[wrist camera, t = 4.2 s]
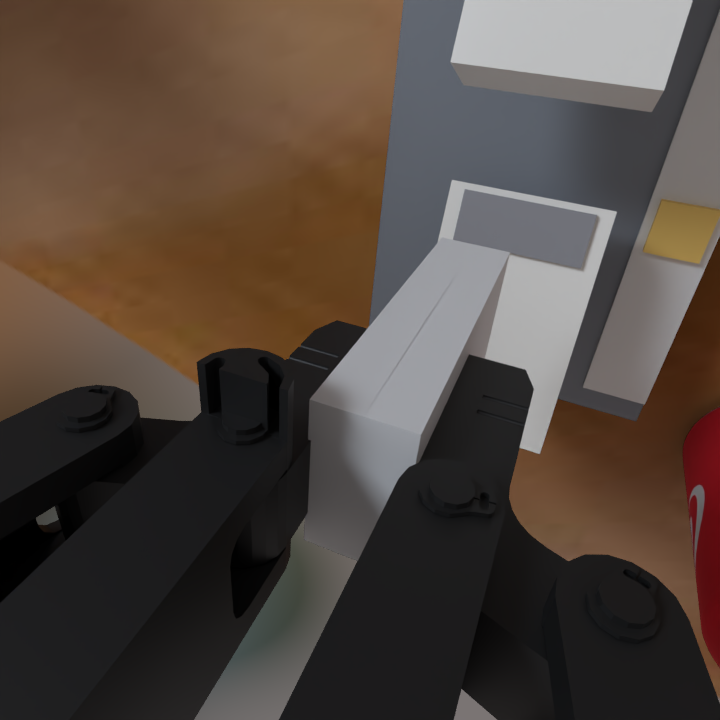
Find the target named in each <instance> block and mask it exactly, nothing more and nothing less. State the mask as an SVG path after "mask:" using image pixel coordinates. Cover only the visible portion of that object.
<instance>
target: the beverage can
mask: <svg viewBox="0 0 720 720" xmlns="http://www.w3.org/2000/svg"><path fill="white" fill-rule="evenodd" d="M683 464H684V473H685V482H686V491H687V501H688V510H689V519H690V528H691V537H692V546H693V555H694V565H695V574H696V583H697V592H698V601H699V610H700V620H701V629H702V634H703V637H704V640H705V643H706V645H707V647H708V650H709V652H710V654H711V655H712V657H713V659H714V660H715V662H716V663H717V665H718V666H719V668H720V407H718V408H716V409H714V410H712V411H711V412H709V413H708V414H706V415H705V416H703V417H702V418H701V419H700V420H699V421H698V422H697V423H696V424H695V425H694V426H693V427H692V429H691V430H690V432H689V433H688V435H687V437H686V439H685V442H684V446H683Z"/></svg>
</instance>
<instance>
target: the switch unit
mask: <svg viewBox="0 0 720 720" xmlns="http://www.w3.org/2000/svg"><path fill="white" fill-rule="evenodd" d="M464 1H465V0H404V3H403V12H402V22H401V31H400V40H399V50H398V59H397V69H396V78H395V87H394V97H393V106H392V115H391V125H390V134H389V144H388V153H387V162H386V172H385V181H384V190H383V200H382V209H381V218H380V228H379V237H378V247H377V256H376V265H375V275H374V284H373V293H372V303H371V312H370V322H369V326H370V325H371V324H372V322H373V321H374V320H375V319H376V318H377V316H378V315H379V314H380V313H381V311H382V310H383V309H384V308H385V307H386V305H387V304H388V303H389V302H390V300H391V299H392V298H393V297H394V296H395V294H396V293H397V292H398V291H399V289H400V288H401V287H402V286H403V285H404V283H405V282H406V281H407V280H408V278H409V277H410V276H411V275H412V274H413V272H414V271H415V270H416V269H417V267H418V266H419V265H420V264H421V263H422V261H423V260H424V259H425V258H426V256H427V255H428V254H429V253H430V252H431V250H432V249H433V248H434V247H435V245H436V244H437V243H438V238H439V234H440V230H441V225H442V221H443V217H444V212H445V208H446V203H447V199H448V195H449V190H450V186H451V182H452V180H456V181H461V182H466V183H471V184H477V185H482V186H487V187H492V188H497V189H502V190H508V191H513V192H518V193H523V194H528V195H534V196H539V197H544V198H549V199H554V200H559V201H565V202H570V203H575V204H580V205H585V206H590V207H596V208H601V209H606V210H611V211H616V212H617V213H616V217H615V220H614V223H613V226H612V229H611V232H610V235H609V238H608V242H607V245H606V248H605V251H604V254H603V257H602V260H601V264H600V267H599V270H598V273H597V276H596V279H595V282H594V286H593V289H592V292H591V295H590V298H589V301H588V304H587V308H586V311H585V314H584V317H583V320H582V323H581V326H580V330H579V333H578V336H577V339H576V342H575V345H574V348H573V351H572V355H571V358H570V361H569V364H568V367H567V370H566V373H565V377H564V380H563V383H562V386H561V389H560V392H559V395H558V399H560V400H564V401H567V402H571V403H574V404H578V405H581V406H584V407H588V408H591V409H595V410H598V411H602V412H605V413H609V414H612V415H616V416H619V417H622V418H626V419H629V420H633V421H637V418H638V416H639V414H640V412H641V409H642V407H643V405H645V403H646V401H647V399H648V396H649V394H650V392H651V390H652V387H653V385H654V383H655V381H656V378H657V376H658V374H659V372H660V369H661V367H662V365H663V363H664V360H665V358H666V356H667V354H668V351H669V349H670V347H671V345H672V342H673V340H674V338H675V336H676V333H677V331H678V329H679V327H680V324H681V322H682V320H683V318H684V315H685V313H686V311H687V309H688V306H689V304H690V302H691V300H692V297H693V295H694V293H695V291H696V288H697V286H698V284H699V282H700V279H701V277H702V275H703V273H704V270H705V268H706V266H707V264H708V261H709V259H710V257H711V255H712V252H713V250H714V248H715V246H716V243H717V241H718V239H719V237H720V0H693V1H692V4H691V8H690V11H689V14H688V17H687V20H686V23H685V26H684V30H683V33H682V36H681V39H680V42H679V45H678V48H677V52H676V55H675V58H674V61H673V64H672V67H671V71H670V74H669V77H668V80H667V83H666V86H665V89H664V92H663V93H662V95H661V97H660V99H659V100H658V102H657V104H656V106H655V107H654V109H653V111H652V112H646V111H639V110H632V109H626V108H619V107H612V106H605V105H598V104H591V103H584V102H577V101H570V100H563V99H556V98H549V97H542V96H535V95H528V94H521V93H514V92H507V91H500V90H493V89H487V88H480V87H473V86H466V85H463V83H462V82H461V80H460V78H459V76H458V75H457V73H456V71H455V69H454V68H453V66H452V64H451V63H450V62H451V57H452V53H453V49H454V44H455V40H456V36H457V31H458V27H459V23H460V18H461V14H462V10H463V5H464Z"/></svg>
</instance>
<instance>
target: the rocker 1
mask: <svg viewBox="0 0 720 720" xmlns="http://www.w3.org/2000/svg"><path fill="white" fill-rule="evenodd" d="M692 1H693V0H465V1H464V5H463V10H462V14H461V18H460V23H459V27H458V31H457V36H456V40H455V44H454V49H453V53H452V57H451V62H450V63H451V64H452V66H453V68H454V69H455V71H456V73H457V75H458V76H459V78H460V80H461V82H462V83H463V85H466V86H473V87H480V88H487V89H493V90H500V91H507V92H514V93H521V94H528V95H535V96H542V97H549V98H556V99H563V100H570V101H577V102H584V103H591V104H598V105H605V106H612V107H619V108H626V109H632V110H639V111H646V112H652V111H653V109H654V107H655V106H656V104H657V102H658V100H659V99H660V97H661V95H662V93H663V92H664V89H665V86H666V83H667V80H668V77H669V74H670V71H671V67H672V64H673V61H674V58H675V55H676V52H677V48H678V45H679V42H680V39H681V36H682V33H683V30H684V26H685V23H686V20H687V17H688V14H689V11H690V8H691V4H692Z"/></svg>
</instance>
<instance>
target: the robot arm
mask: <svg viewBox="0 0 720 720" xmlns="http://www.w3.org/2000/svg"><path fill="white" fill-rule="evenodd" d="M509 255H510V252H506V251H502V250H497V249H493V248H488V247H483V246H479V245H474V244H470V243H465V242H460V241H456V240H451V239H447V238H441V239H440V241H439V242H438V243H437V244H436V245H435V247H434V248H433V249H432V250H431V252H430V253H429V254H428V255H427V256H426V258H425V259H424V260H423V261H422V263H421V264H420V265H419V266H418V267H417V269H416V270H415V271H414V272H413V274H412V275H411V276H410V277H409V278H408V280H407V281H406V282H405V283H404V285H403V286H402V287H401V288H400V289H399V291H398V292H397V293H396V294H395V296H394V297H393V298H392V299H391V300H390V302H389V303H388V304H387V305H386V307H385V308H384V309H383V310H382V311H381V313H380V314H379V315H378V316H377V318H376V319H375V320H374V321H373V322H372V324H371V325H370V326H369V327H368V329H366V328H363V327H359V326H355V325H352V324H348V323H344V322H341V321H335V322H332V323H330V324H328V325H325V326H323V327H321V328H318V329H316V330H314V331H313V333H312V334H311V335H310V336H309V337H308V338H307V339H306V340H305V341H304V342H303V343H302V344H301V347H298V348H297V349H296V350H295V351H294V352H293V353H292V354H291V355H290V358H289V359H286V360H284V359H283V358H281V357H279V356H277V355H275V354H273V353H270V352H268V351H264V350H258V349H252V348H239V349H227V350H224V351H220V352H216V353H212V354H210V355H208V356H207V357H205V358H203V359H201V360H200V361H198V362H197V369H198V380H199V390H200V401H201V413H200V414H199V415H198V416H197V417H196V418H195V419H194V420H193V421H175V420H162V419H151V418H140V413H139V407H138V401H137V400H136V399H135V398H134V397H133V396H132V395H131V393H130V392H127V391H125V390H123V389H120V388H117V387H114V386H102V385H94V386H86V387H80V388H75V389H72V390H69V391H66V392H63V393H61V394H58V395H56V396H54V397H51V398H49V399H47V400H45V401H43V402H41V403H39V404H37V405H35V406H32V407H30V408H28V409H26V410H24V411H22V412H20V413H18V414H16V415H14V416H11V417H9V418H7V419H5V420H3V421H1V422H0V720H194V719H195V717H196V715H197V714H198V712H199V710H200V709H201V707H202V705H203V704H204V702H205V700H206V699H207V697H208V696H209V694H210V692H211V691H212V689H213V687H214V686H215V684H216V683H217V681H218V679H219V678H220V676H221V674H222V673H223V671H224V669H225V668H226V666H227V664H228V663H229V661H230V660H231V658H232V656H233V655H234V653H235V651H236V650H237V648H238V646H239V645H240V643H241V641H242V640H243V638H244V637H245V635H246V633H247V632H248V630H249V628H250V627H251V625H252V623H253V622H254V620H255V618H256V617H257V615H258V614H259V612H260V610H261V608H262V607H263V605H264V604H265V602H266V600H267V599H268V597H269V596H270V594H271V592H272V591H273V589H274V587H275V586H276V584H277V582H278V581H279V579H280V577H281V576H282V574H283V573H284V571H285V569H286V566H287V564H288V561H289V558H290V544H291V538H292V536H293V535H294V533H295V532H296V530H297V529H298V527H299V525H300V524H301V522H302V521H303V519H304V518H305V525H304V540H305V541H308V542H311V543H313V544H315V545H318V546H321V547H323V548H326V549H328V550H331V551H333V552H336V553H338V554H341V555H344V556H346V557H349V558H351V559H354V560H356V561H357V563H356V565H355V567H354V569H353V571H352V573H351V575H350V577H349V579H348V581H347V584H346V585H345V588H344V590H343V592H342V594H341V596H340V598H339V600H338V602H337V604H336V606H335V608H334V610H333V612H332V614H331V616H330V618H329V620H328V622H327V624H326V626H325V628H324V630H323V632H322V634H321V636H320V638H319V640H318V642H317V644H316V646H315V648H314V650H313V652H312V654H311V656H310V658H309V660H308V662H307V664H306V666H305V668H304V670H303V672H302V675H301V676H300V678H299V680H298V682H297V685H296V686H295V689H294V690H293V692H292V694H291V697H290V699H289V701H288V703H287V705H286V707H285V709H284V711H283V713H282V715H281V717H280V719H279V720H454V716H455V712H456V708H457V704H458V700H459V696H460V692H461V689H463V690H464V691H465V692H466V693H467V694H468V695H469V696H471V697H472V698H473V699H474V700H475V701H476V702H478V703H479V704H480V705H481V706H482V707H483V708H484V709H486V710H487V711H488V712H489V713H490V714H491V715H493V716H494V717H495V718H496V719H497V720H720V703H719V700H718V698H717V695H716V692H715V689H714V687H713V684H712V681H711V678H710V676H709V673H708V670H707V668H706V665H705V662H704V659H703V657H702V654H701V651H700V648H699V646H698V643H697V640H696V638H695V635H694V632H693V629H692V627H691V624H690V621H689V619H688V617H687V616H686V614H685V612H684V610H683V609H682V607H681V605H680V603H679V601H678V600H677V598H676V597H675V596H674V595H673V594H672V593H671V592H670V591H669V590H668V589H667V588H666V587H665V586H664V585H663V584H662V583H661V582H660V581H659V580H658V579H657V578H656V577H655V576H653V575H652V574H650V573H648V572H647V571H645V570H644V569H642V568H640V567H639V566H637V565H635V564H634V563H632V562H629V561H626V560H623V559H619V558H616V557H613V556H610V555H583V556H580V557H578V558H576V559H573V560H571V561H569V562H568V561H567V560H565V559H564V558H562V557H560V556H559V555H557V554H556V553H554V552H553V551H551V550H550V549H548V548H546V547H545V546H544V545H542V544H541V543H540V542H539V541H537V540H536V539H535V538H533V537H532V536H531V535H530V534H529V533H528V532H527V531H526V530H525V529H524V527H523V526H522V525H521V524H520V523H519V521H518V520H517V518H516V516H515V514H514V513H513V511H512V508H511V504H510V500H509V489H510V483H511V479H512V475H513V471H514V467H515V463H516V459H517V455H518V451H519V447H520V443H521V439H522V435H523V431H524V427H525V423H526V419H527V415H528V411H529V407H530V403H531V399H532V395H533V391H534V388H533V386H532V383H531V381H530V378H529V376H528V374H527V371H526V370H525V369H521V368H518V367H514V366H510V365H507V364H503V363H499V362H495V361H492V360H488V359H485V355H486V351H487V347H488V343H489V338H490V334H491V330H492V326H493V322H494V318H495V313H496V309H497V305H498V301H499V297H500V293H501V288H502V284H503V280H504V276H505V272H506V267H507V263H508V259H509ZM54 506H55V508H56V511H57V515H58V518H59V520H57V521H55V522H53V523H50V524H48V525H38V524H37V521H36V517H38V516H39V515H41V514H43V513H44V512H46V511H47V510H49V509H51V508H52V507H54Z"/></svg>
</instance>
